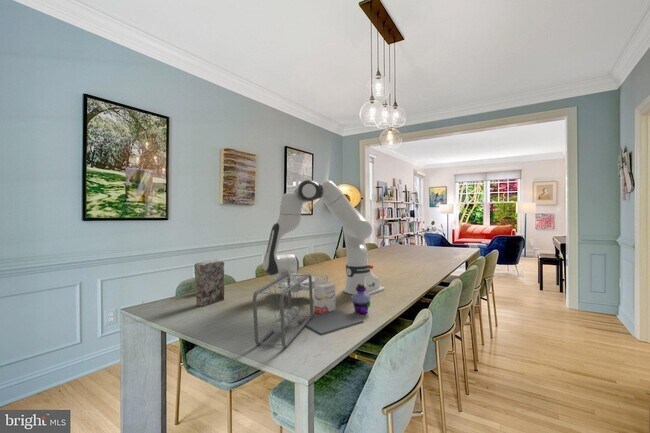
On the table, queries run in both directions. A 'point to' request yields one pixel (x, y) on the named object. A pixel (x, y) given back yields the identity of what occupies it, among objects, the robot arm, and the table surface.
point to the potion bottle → (361, 300)
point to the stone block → (209, 282)
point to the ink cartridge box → (324, 295)
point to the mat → (331, 322)
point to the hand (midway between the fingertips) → (309, 288)
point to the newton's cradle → (283, 309)
